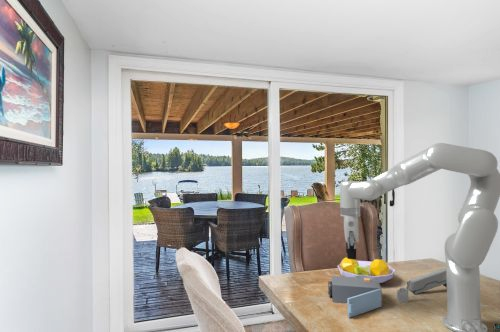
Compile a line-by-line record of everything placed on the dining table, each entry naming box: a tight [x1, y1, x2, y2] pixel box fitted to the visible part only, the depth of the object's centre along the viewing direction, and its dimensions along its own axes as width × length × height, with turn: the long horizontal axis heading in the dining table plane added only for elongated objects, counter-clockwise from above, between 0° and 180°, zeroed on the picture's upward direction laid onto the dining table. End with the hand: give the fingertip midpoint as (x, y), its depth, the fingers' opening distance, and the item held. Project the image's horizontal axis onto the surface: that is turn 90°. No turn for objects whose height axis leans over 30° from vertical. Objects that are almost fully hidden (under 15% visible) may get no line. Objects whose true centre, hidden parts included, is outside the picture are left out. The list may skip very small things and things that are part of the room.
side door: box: [346, 288, 383, 318], centre depth 119 cm, size 2×19×7 cm, turn 121°
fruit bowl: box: [337, 256, 396, 284], centre depth 156 cm, size 28×27×11 cm
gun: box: [406, 267, 447, 295], centre depth 139 cm, size 2×25×10 cm, turn 99°
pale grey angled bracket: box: [396, 279, 414, 303], centre depth 130 cm, size 7×2×8 cm, turn 100°
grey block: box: [327, 275, 382, 304], centre depth 133 cm, size 12×21×8 cm, turn 75°
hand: (351, 255), depth 124 cm, fingers open, 9 cm apart
